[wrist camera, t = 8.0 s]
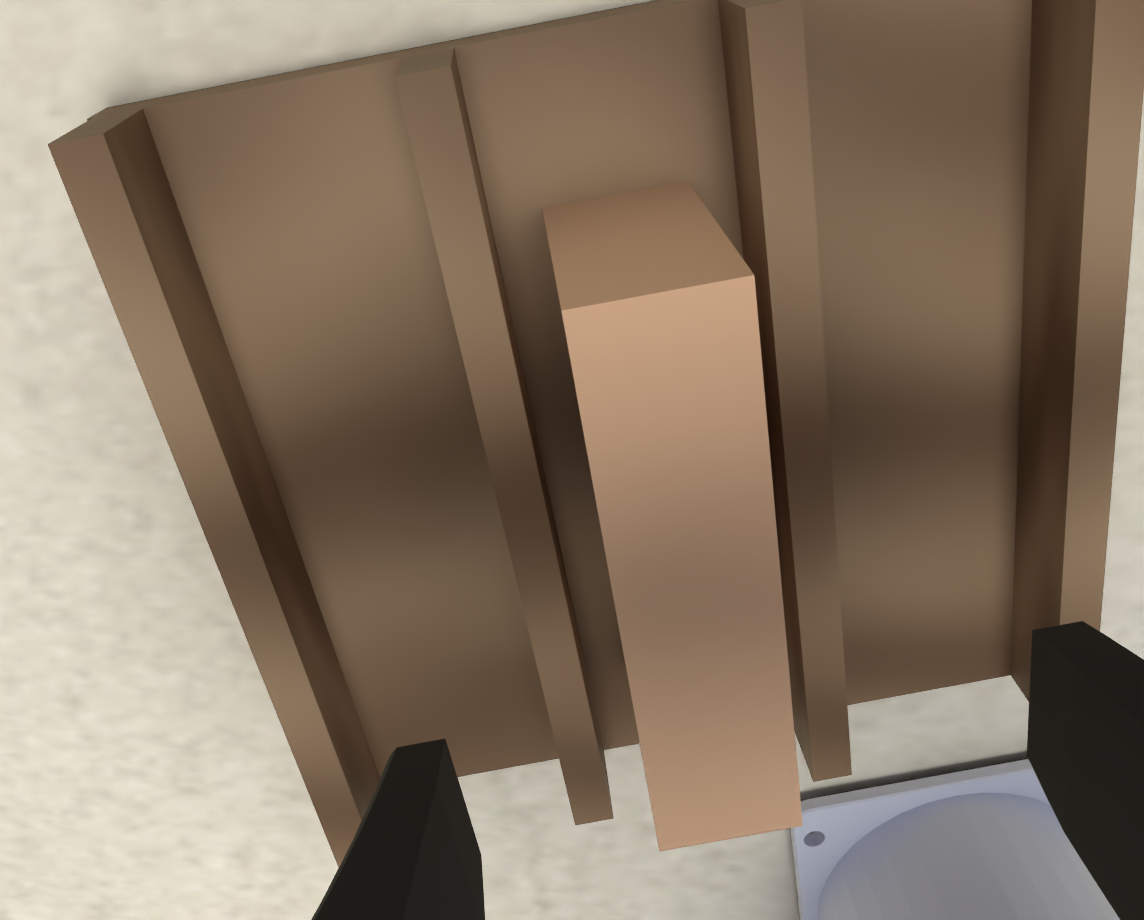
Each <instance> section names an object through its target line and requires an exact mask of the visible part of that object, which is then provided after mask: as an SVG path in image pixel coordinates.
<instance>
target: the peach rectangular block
mask: <svg viewBox="0 0 1144 920" xmlns="http://www.w3.org/2000/svg"><path fill="white" fill-rule="evenodd" d="M542 210H543V216H544V222H545V227H546V233H547V238H548V244H549V249H550V255H551V260H552V266H553V271H554V277H555V282H556V288H557V293H558V299H559V304H560V310H561V315H562V321H563V326H564V332H565V337H566V343H567V348H568V354H569V359H570V365H571V370H572V376H573V381H574V387H575V392H576V398H577V403H578V409H579V414H580V420H581V425H582V431H583V436H584V442H585V447H586V453H587V458H588V464H589V469H590V475H591V480H592V486H593V491H594V497H595V502H596V508H597V513H598V519H599V524H600V530H601V535H602V541H603V546H604V552H605V557H606V563H607V568H608V574H609V579H610V585H611V590H612V596H613V601H614V607H615V612H616V618H617V623H618V629H619V634H620V640H621V645H622V651H623V656H624V662H625V667H626V673H627V678H628V683H629V689H630V694H631V700H632V705H633V711H634V716H635V721H636V727H637V732H638V738H639V743H640V748H641V754H642V759H643V765H644V770H645V776H646V781H647V786H648V792H649V797H650V803H651V808H652V813H653V819H654V824H655V830H656V835H657V840H658V846H659V851H664V850H670V849H675V848H681V847H687V846H692V845H698V844H704V843H709V842H715V841H721V840H726V839H732V838H737V837H743V836H749V835H754V834H760V833H766V832H771V831H777V830H782V829H788V828H794V827H799V826H803V824H802V812H801V801H800V790H799V778H798V767H797V755H796V744H795V733H794V721H793V710H792V698H791V687H790V676H789V664H788V653H787V641H786V630H785V619H784V607H783V596H782V584H781V573H780V562H779V550H778V539H777V527H776V516H775V505H774V493H773V482H772V470H771V459H770V448H769V436H768V425H767V413H766V402H765V391H764V379H763V368H762V356H761V345H760V334H759V322H758V311H757V299H756V288H755V277H754V274H753V272H752V271H751V270H750V268H749V267H748V265H747V264H746V263H745V261H744V260H743V258H742V257H741V255H740V254H739V253H738V251H737V250H736V248H735V247H734V246H733V244H732V243H731V241H730V240H729V239H728V237H727V236H726V234H725V233H724V232H723V230H722V229H721V227H720V226H719V225H718V223H717V222H716V220H715V219H714V217H713V216H712V215H711V213H710V212H709V210H708V209H707V208H706V206H705V205H704V203H703V202H702V201H701V199H700V198H699V196H698V195H697V194H696V192H695V191H694V189H693V188H692V186H691V185H690V184H689V182H688V181H687V182H681V183H676V184H671V185H665V186H660V187H654V188H649V189H644V190H638V191H633V192H628V193H622V194H617V195H611V196H606V197H601V198H595V199H590V200H585V201H579V202H574V203H568V204H563V205H558V206H552V207H547V208H542Z"/></svg>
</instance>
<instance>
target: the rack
mask: <svg viewBox="0 0 1144 920" xmlns="http://www.w3.org/2000/svg"><path fill="white" fill-rule="evenodd" d="M1143 91H1144V0H656V1H651V2H646V3H640V4H635V5H630V6H625V7H620V8H615V9H610V10H605V11H600V12H594V13H589V14H584V15H579V16H574V17H569V18H564V19H559V20H554V21H548V22H543V23H538V24H533V25H528V26H523V27H518V28H513V29H508V30H502V31H497V32H492V33H487V34H482V35H477V36H472V37H467V38H462V39H456V40H451V41H446V42H441V43H436V44H431V45H426V46H421V47H416V48H410V49H405V50H400V51H395V52H390V53H385V54H380V55H375V56H370V57H364V58H359V59H354V60H349V61H344V62H339V63H334V64H329V65H324V66H318V67H313V68H308V69H303V70H298V71H293V72H288V73H283V74H278V75H272V76H267V77H262V78H257V79H252V80H247V81H242V82H237V83H232V84H226V85H221V86H216V87H211V88H206V89H201V90H196V91H191V92H186V93H180V94H175V95H170V96H165V97H160V98H155V99H150V100H145V101H140V102H134V103H129V104H124V105H119V106H114V107H109V108H106V109H104V110H102V111H100V112H99V113H97V114H95V115H94V116H92V117H90V118H88V119H87V122H86V123H84V124H82V125H80V126H79V127H77V128H75V129H74V130H72V131H70V132H68V133H67V134H65V135H63V136H61V137H60V138H58V139H56V140H55V141H53V142H51V143H49V144H48V146H49V149H50V151H51V154H52V156H53V159H54V161H55V164H56V166H57V169H58V171H59V174H60V176H61V179H62V181H63V184H64V186H65V189H66V191H67V194H68V196H69V199H70V201H71V204H72V206H73V208H74V211H75V213H76V216H77V218H78V221H79V223H80V226H81V228H82V231H83V233H84V236H85V238H86V241H87V243H88V246H89V248H90V251H91V253H92V256H93V258H94V261H95V263H96V266H97V268H98V271H99V273H100V276H101V278H102V281H103V283H104V286H105V288H106V290H107V293H108V295H109V298H110V300H111V303H112V305H113V308H114V310H115V313H116V315H117V318H118V320H119V323H120V325H121V328H122V330H123V333H124V335H125V338H126V340H127V343H128V345H129V348H130V350H131V353H132V355H133V358H134V360H135V363H136V365H137V368H138V370H139V372H140V375H141V377H142V380H143V382H144V385H145V387H146V390H147V392H148V395H149V397H150V400H151V402H152V405H153V407H154V410H155V412H156V415H157V417H158V420H159V422H160V425H161V427H162V430H163V432H164V435H165V437H166V440H167V442H168V445H169V447H170V450H171V452H172V454H173V457H174V459H175V462H176V464H177V467H178V469H179V472H180V474H181V477H182V479H183V482H184V484H185V487H186V489H187V492H188V494H189V497H190V499H191V502H192V504H193V507H194V509H195V512H196V514H197V517H198V519H199V522H200V524H201V527H202V529H203V532H204V534H205V536H206V539H207V541H208V544H209V546H210V549H211V551H212V554H213V556H214V559H215V561H216V564H217V566H218V569H219V571H220V574H221V576H222V579H223V581H224V584H225V586H226V589H227V591H228V594H229V596H230V599H231V601H232V604H233V606H234V609H235V611H236V614H237V616H238V618H239V621H240V623H241V626H242V628H243V631H244V633H245V636H246V638H247V641H248V643H249V646H250V648H251V651H252V653H253V656H254V658H255V661H256V663H257V666H258V668H259V671H260V673H261V676H262V678H263V681H264V683H265V686H266V688H267V691H268V693H269V696H270V698H271V700H272V703H273V705H274V708H275V710H276V713H277V715H278V718H279V720H280V723H281V725H282V728H283V730H284V733H285V735H286V738H287V740H288V743H289V745H290V748H291V750H292V753H293V755H294V758H295V760H296V763H297V765H298V768H299V770H300V773H301V775H302V778H303V780H304V782H305V785H306V787H307V790H308V792H309V795H310V797H311V800H312V802H313V805H314V807H315V810H316V812H317V815H318V817H319V820H320V822H321V825H322V827H323V830H324V832H325V835H326V837H327V840H328V842H329V845H330V847H331V850H332V852H333V855H334V857H335V860H336V862H337V864H338V867H340V865H341V863H342V861H343V859H344V857H345V855H346V853H347V851H348V849H349V847H350V845H351V843H352V841H353V839H354V836H355V834H356V832H357V830H358V828H359V826H360V824H361V821H362V819H363V817H364V815H365V813H366V811H367V808H368V806H369V804H370V802H371V799H372V797H373V795H374V793H375V790H376V788H377V786H378V783H379V781H380V778H381V776H382V774H383V771H384V769H385V766H386V764H387V761H388V759H389V757H390V755H391V754H392V753H393V751H394V750H395V749H396V747H401V746H407V745H412V744H418V743H423V742H429V741H434V740H439V739H446V742H447V745H448V749H449V752H450V755H451V758H452V762H453V765H454V768H455V771H456V775H457V777H460V776H465V775H471V774H476V773H482V772H487V771H492V770H498V769H503V768H509V767H514V766H520V765H525V764H530V763H536V762H541V761H547V760H552V759H558V758H559V759H560V764H561V768H562V772H563V776H564V780H565V784H566V788H567V793H568V797H569V801H570V805H571V809H572V813H573V817H574V822H575V825H580V824H586V823H591V822H596V821H602V820H607V819H613V812H612V805H611V798H610V791H609V784H608V777H607V770H606V763H605V756H604V750H606V749H612V748H617V747H623V746H628V745H634V744H639V738H638V732H637V727H636V721H635V716H634V711H633V705H632V700H631V694H630V689H629V683H628V678H627V673H626V667H625V662H624V656H623V651H622V645H621V640H620V634H619V629H618V623H617V618H616V612H615V607H614V601H613V596H612V590H611V585H610V579H609V574H608V568H607V563H606V557H605V552H604V546H603V541H602V535H601V530H600V524H599V519H598V513H597V508H596V502H595V497H594V491H593V486H592V480H591V475H590V469H589V464H588V458H587V453H586V447H585V442H584V436H583V431H582V425H581V420H580V414H579V409H578V403H577V398H576V392H575V387H574V381H573V376H572V370H571V365H570V359H569V354H568V348H567V343H566V337H565V332H564V326H563V321H562V315H561V310H560V304H559V299H558V293H557V288H556V282H555V277H554V271H553V266H552V260H551V255H550V249H549V244H548V238H547V233H546V227H545V222H544V216H543V210H542V208H547V207H552V206H558V205H563V204H568V203H574V202H579V201H585V200H590V199H595V198H601V197H606V196H611V195H617V194H622V193H628V192H633V191H638V190H644V189H649V188H654V187H660V186H665V185H671V184H676V183H681V182H687V181H688V182H689V184H690V185H691V186H692V188H693V189H694V191H695V192H696V194H697V195H698V196H699V198H700V199H701V201H702V202H703V203H704V205H705V206H706V208H707V209H708V210H709V212H710V213H711V215H712V216H713V217H714V219H715V220H716V222H717V223H718V225H719V226H720V227H721V229H722V230H723V232H724V233H725V234H726V236H727V237H728V239H729V240H730V241H731V243H732V244H733V246H734V247H735V248H736V250H737V251H738V253H739V254H740V255H741V257H742V258H743V260H744V261H745V263H746V264H747V265H748V267H749V268H750V270H751V271H752V272H753V274H754V277H755V288H756V299H757V311H758V322H759V334H760V345H761V356H762V368H763V379H764V391H765V402H766V413H767V425H768V436H769V448H770V459H771V470H772V482H773V493H774V505H775V516H776V527H777V539H778V550H779V562H780V573H781V584H782V596H783V607H784V619H785V630H786V641H787V653H788V664H789V676H790V687H791V698H792V710H793V721H794V731H795V734H796V736H797V739H798V742H799V744H800V747H801V750H802V752H803V755H804V758H805V760H806V763H807V766H808V769H809V771H810V774H811V777H812V779H813V782H815V781H820V780H826V779H831V778H837V777H842V776H848V775H852V772H851V757H850V741H849V726H848V710H847V705H851V704H856V703H862V702H867V701H872V700H878V699H883V698H889V697H894V696H900V695H905V694H910V693H916V692H921V691H927V690H932V689H938V688H943V687H948V686H954V685H959V684H965V683H970V682H976V681H981V680H986V679H992V678H997V677H1003V676H1008V675H1011V676H1012V678H1013V679H1014V681H1015V682H1016V684H1017V685H1018V686H1019V688H1020V689H1021V691H1022V692H1023V694H1024V695H1025V697H1026V698H1027V700H1028V701H1029V695H1030V671H1031V647H1032V630H1036V629H1041V628H1047V627H1052V626H1058V625H1063V624H1069V623H1074V622H1079V621H1083V622H1085V623H1087V624H1088V625H1090V626H1092V627H1093V628H1095V629H1096V630H1098V631H1100V622H1101V610H1102V597H1103V585H1104V573H1105V560H1106V548H1107V536H1108V523H1109V511H1110V499H1111V486H1112V474H1113V462H1114V449H1115V437H1116V425H1117V412H1118V400H1119V388H1120V375H1121V363H1122V351H1123V338H1124V326H1125V314H1126V301H1127V289H1128V277H1129V264H1130V252H1131V240H1132V227H1133V215H1134V203H1135V190H1136V178H1137V165H1138V153H1139V141H1140V128H1141V116H1142V104H1143Z"/></svg>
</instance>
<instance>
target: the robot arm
mask: <svg viewBox="0 0 1144 920" xmlns="http://www.w3.org/2000/svg"><path fill="white" fill-rule="evenodd" d="M1027 757H1028V759H1025V760H1019V761H1014V762H1009V763H1003V764H998V765H992V766H987V767H981V768H976V769H970V770H965V771H959V772H954V773H948V774H943V775H937V776H932V777H927V778H921V779H916V780H910V781H905V782H899V783H894V784H888V785H883V786H877V787H872V788H866V789H861V790H855V791H850V792H845V793H839V794H834V795H828V796H823V797H817V798H812V799H807V800H804V801H801V812H802V824H803V826H799V827H794V828H790V829H791V838H792V848H793V857H794V867H795V876H796V886H797V895H798V905H799V914H800V920H1144V660H1143V659H1141V658H1140V657H1138V656H1137V655H1135V654H1134V653H1132V652H1131V651H1129V650H1128V649H1126V648H1125V647H1123V646H1121V645H1120V644H1118V643H1117V642H1115V641H1114V640H1112V639H1111V638H1109V637H1107V636H1106V635H1104V634H1103V633H1101V632H1100V631H1098V630H1096V629H1095V628H1093V627H1092V626H1090V625H1088V624H1087V623H1085V622H1083V621H1079V622H1074V623H1069V624H1063V625H1058V626H1052V627H1047V628H1041V629H1036V630H1032V647H1031V671H1030V695H1029V719H1028V743H1027ZM813 831H816V832H815V833H812V834H808V833H810V832H813ZM312 920H485V911H484V893H483V877H482V861H481V853H480V850H479V847H478V843H477V840H476V837H475V833H474V830H473V827H472V824H471V820H470V817H469V814H468V811H467V807H466V804H465V801H464V798H463V794H462V791H461V788H460V785H459V781H458V778H457V775H456V771H455V768H454V765H453V762H452V758H451V755H450V752H449V749H448V745H447V742H446V739H439V740H434V741H429V742H423V743H418V744H412V745H407V746H401V747H396V749H395V750H394V751H393V753H392V754H391V755H390V757H389V759H388V761H387V764H386V766H385V769H384V771H383V774H382V776H381V778H380V781H379V783H378V786H377V788H376V790H375V793H374V795H373V797H372V799H371V802H370V804H369V806H368V808H367V811H366V813H365V815H364V817H363V819H362V821H361V824H360V826H359V828H358V830H357V832H356V834H355V836H354V839H353V841H352V843H351V845H350V847H349V849H348V851H347V853H346V855H345V857H344V859H343V861H342V863H341V865H340V867H339V869H338V871H337V873H336V875H335V877H334V878H333V880H332V882H331V884H330V886H329V888H328V890H327V892H326V894H325V896H324V898H323V900H322V902H321V904H320V905H319V907H318V909H317V911H316V913H315V914H314V916H313V918H312Z"/></svg>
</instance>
